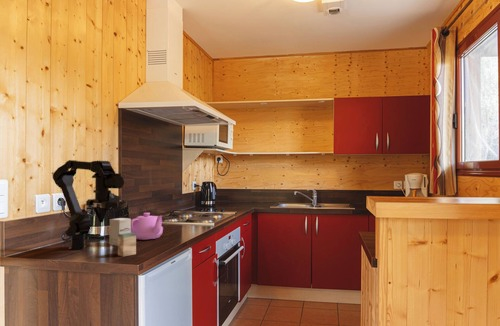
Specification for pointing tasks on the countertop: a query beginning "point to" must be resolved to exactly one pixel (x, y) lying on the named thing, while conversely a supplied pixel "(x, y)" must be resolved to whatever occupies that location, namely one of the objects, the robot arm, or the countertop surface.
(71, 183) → the robot arm
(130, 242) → the birch block
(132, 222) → the teapot
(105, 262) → the countertop surface
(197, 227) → the countertop surface
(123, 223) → the supplement box
